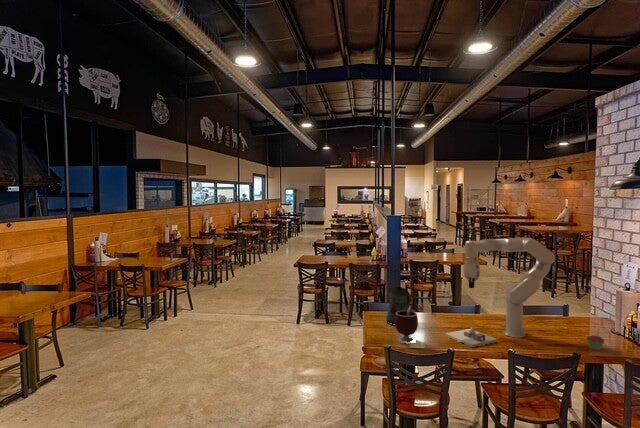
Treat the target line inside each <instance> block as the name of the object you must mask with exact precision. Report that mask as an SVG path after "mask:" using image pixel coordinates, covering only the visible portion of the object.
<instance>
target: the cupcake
mask: <svg viewBox="0 0 640 428" xmlns="http://www.w3.org/2000/svg"><path fill="white" fill-rule="evenodd" d="M599 331H600V328H597V332H596V335H595V334H594V335H589V336H587V337H586V342H587V343H588V345H589V347H590V349H593V350H599V351H600V350H601V349H602V347H603V345H604V344H605V340H604V339H603V337H601V336H599V333H600V332H599Z"/></svg>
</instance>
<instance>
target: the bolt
mask: <svg viewBox="0 0 640 428" xmlns="http://www.w3.org/2000/svg"><path fill="white" fill-rule="evenodd" d="M470 329H471V332H470V336H471V337H473V334H475V331H476V327H475V326H471V327H470ZM480 340H483V337H480Z"/></svg>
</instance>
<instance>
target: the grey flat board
mask: <svg viewBox="0 0 640 428" xmlns="http://www.w3.org/2000/svg"><path fill="white" fill-rule="evenodd" d="M470 332H471V328H467V329H461V330H456V331H451V332H445V335H446V336H448V337H450V338H452V339H451V340H453V339H455V340H457V341H459V342H462V343H464V344H466V345H469V346H471V347H474V346H479V347H481V346H480V345H483V346H486V345H485V344H488V345H490V344H489V343H492V344H495V343H494V342H497V343H498V339H497V338H495V337H492V336H490V335H487V334H484V333H482V332H479V331H477V330H475V334H473V337H471V336H470ZM446 336H445V337H446ZM448 337H447V338H448ZM480 337H483V340H480ZM450 338H449V339H450ZM455 340H454V341H455ZM457 341H456V342H457ZM459 342H458V343H459ZM462 343H461V344H462ZM464 344H463V345H464ZM466 345H465V346H466ZM469 346H468V347H469ZM471 347H470V348H471ZM474 348H475V347H474Z"/></svg>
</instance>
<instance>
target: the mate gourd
mask: <svg viewBox="0 0 640 428" xmlns="http://www.w3.org/2000/svg"><path fill="white" fill-rule="evenodd" d="M411 308H412V305H409V307H408V310H407V311H398V312H396V315H395V326H394V327H395V330H396V331H397V332H398V333H399V334H401V335H402V336H401V337H402V338H400V339H401V340H402V341H407V342H410V341H412V340H413V339H412V338H413V337H412V338H409V337H410V335H414V334H415V333H416V331H417V330H418V326H419V323H418V322H419V320H418V313H417V312H416V311H412V309H411Z"/></svg>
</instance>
